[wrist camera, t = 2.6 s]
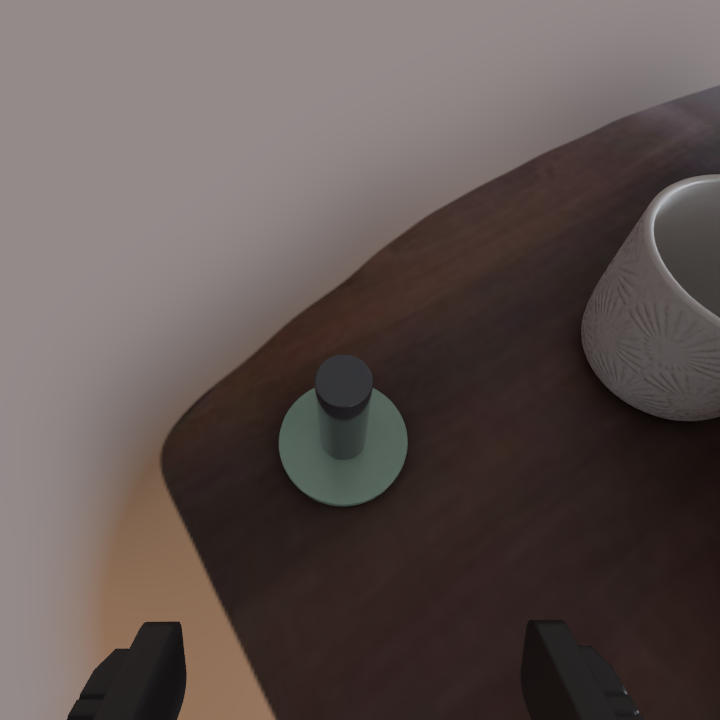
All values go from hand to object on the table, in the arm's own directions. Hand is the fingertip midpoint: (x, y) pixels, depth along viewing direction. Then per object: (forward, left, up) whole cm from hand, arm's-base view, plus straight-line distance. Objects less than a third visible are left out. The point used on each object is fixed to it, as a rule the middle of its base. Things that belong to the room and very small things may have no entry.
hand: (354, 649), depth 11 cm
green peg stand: (+1, +11, -16) cm, 19 cm away
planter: (+24, +13, -16) cm, 32 cm away
